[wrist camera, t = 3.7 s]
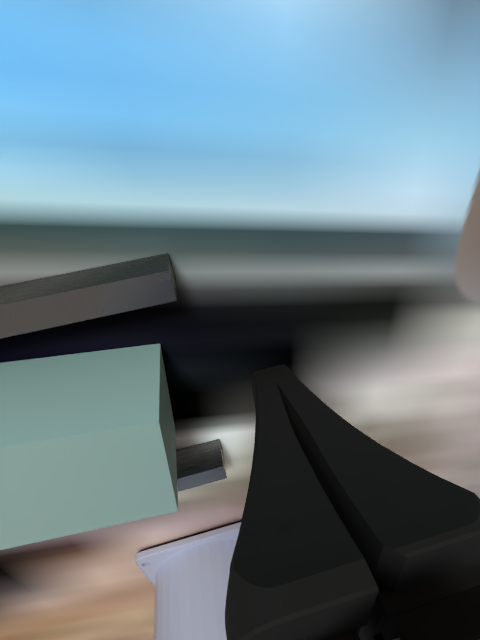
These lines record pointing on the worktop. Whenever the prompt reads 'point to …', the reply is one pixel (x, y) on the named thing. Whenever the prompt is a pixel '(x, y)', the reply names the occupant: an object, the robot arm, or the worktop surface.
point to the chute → (97, 301)
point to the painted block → (84, 443)
